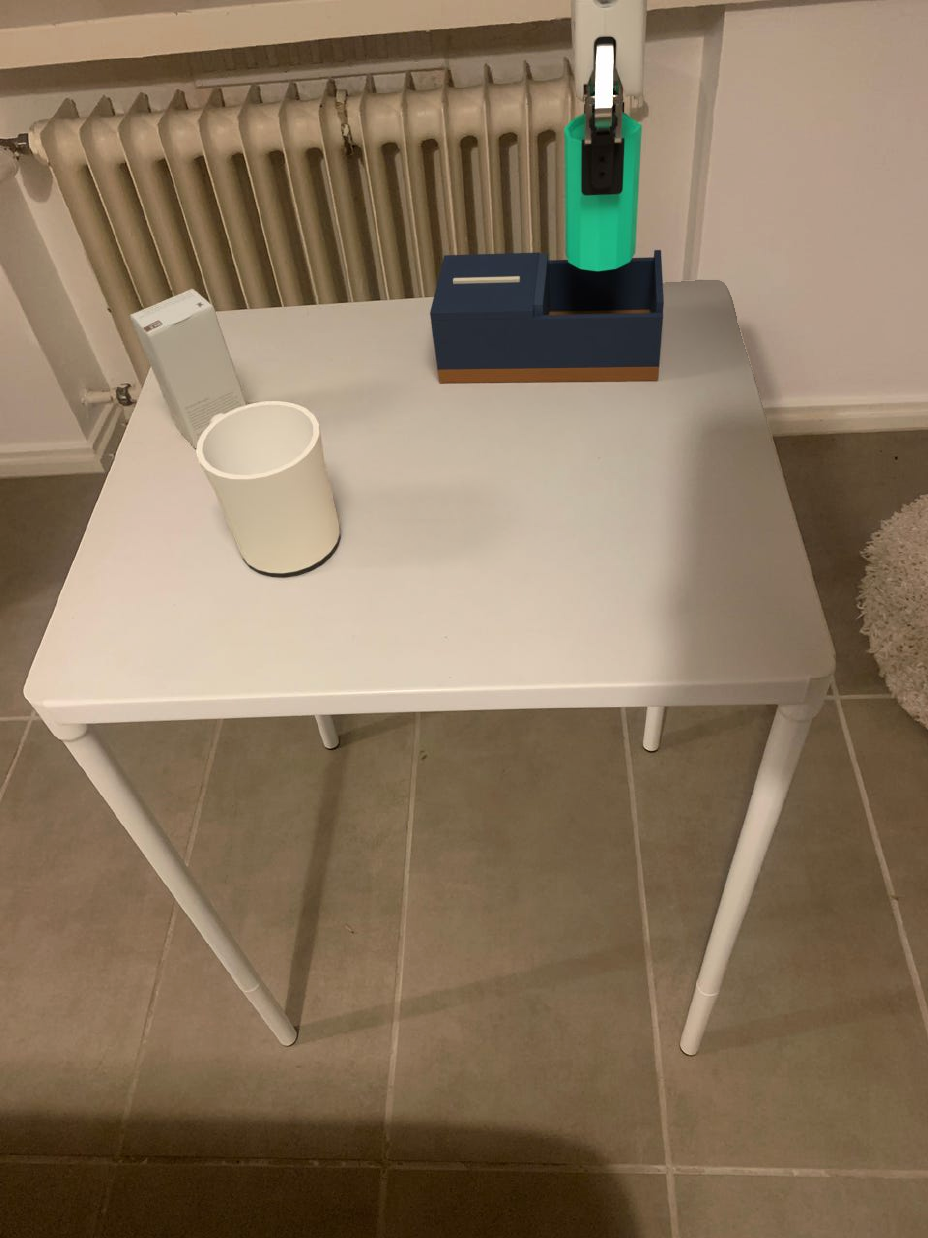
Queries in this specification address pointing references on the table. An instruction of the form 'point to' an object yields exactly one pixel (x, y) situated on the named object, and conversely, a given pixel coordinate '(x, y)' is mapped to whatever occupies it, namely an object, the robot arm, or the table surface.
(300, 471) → the mug
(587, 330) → the navy slotted box
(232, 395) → the cosmetic box
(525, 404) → the table surface
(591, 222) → the candle
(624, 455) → the table surface
